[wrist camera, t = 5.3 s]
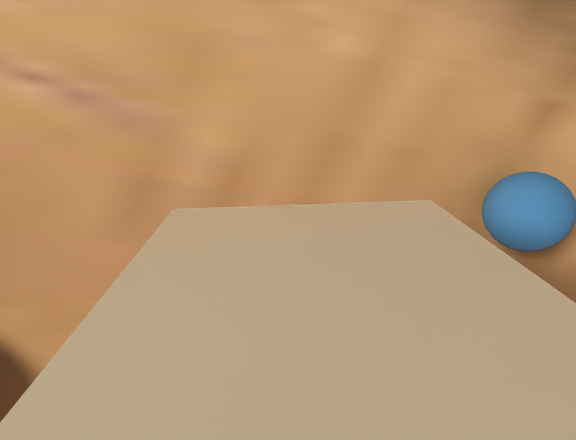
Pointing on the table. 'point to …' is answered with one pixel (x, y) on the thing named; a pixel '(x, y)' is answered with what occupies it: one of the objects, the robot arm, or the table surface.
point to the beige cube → (313, 335)
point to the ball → (529, 211)
